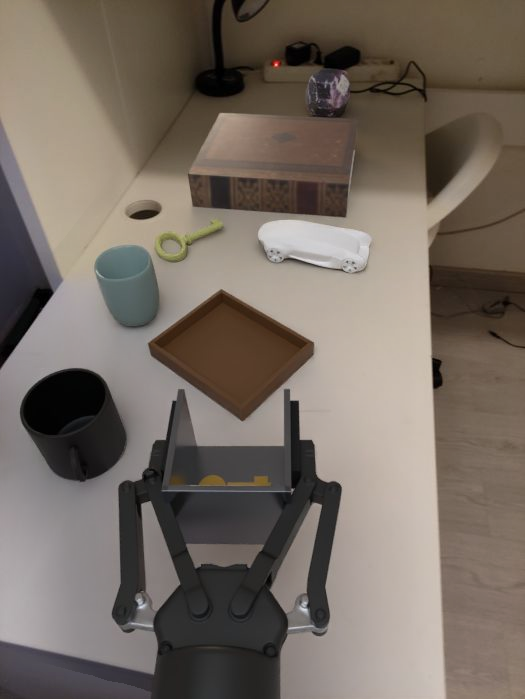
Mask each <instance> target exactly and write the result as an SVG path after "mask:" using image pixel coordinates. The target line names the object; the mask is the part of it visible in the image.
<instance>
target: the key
mask: <svg viewBox="0 0 525 699" xmlns="http://www.w3.org/2000/svg"><path fill="white" fill-rule="evenodd" d="M209 221H210V224H209V225H207V226H205V227H203V228H201V229H198V230H197V231H194V232H192V233H190V234H189V233H187V232H186V233H184V236H183V237H182V236H181V235H180V234H178V233H177V232H174V231H164V232H162V233H160V234H158V235H157V236H156V238H155V241H154V250H155V252H156V253H157V255H158V256H159V257H160V258H162V259H163V260H165V261H167V262H171V263H177V262H180V261H182V260H184V259H185V258H186V257H187V255H188V246H187V244H188V245H192V244H193V242H194V241H196V240H198V239H200V238H202V237H206V236H208V235H209V234H211V233H213V232H214V233H215V232H216V231H219V230H221V229H224V223H223V222H222V220H219V219H218V218H217V217H214V218H213V219H210V220H209ZM167 240H174V241H175V242H177V243H178V244H180V246H181V250H180V251H179V252H178V253H175V254H170V253H167V252H165V251H164V250H163V248H162V245H161V244H162V243H163V242H164V241H167Z"/></svg>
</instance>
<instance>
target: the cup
mask: <svg viewBox="0 0 525 699" xmlns="http://www.w3.org/2000/svg"><path fill="white" fill-rule="evenodd" d="M154 265H155V264H154V262H153V258H152V255H151V254H150V252H149V250H147V249H146V248H145V247H143V246H140V245H136V244H122V245H117V246H114V247H111V248H110V247H109V248H108V249H106V250H104V251H102V252H101V253H100V254H99V255H98V256H97V257H96V259H95V261H94V264H93V270H94V275H95V279H96V281H97V285H98V288H99V290H100V293H101V296H102V298H103V301H104V303H105V305H106V308H107V310H108V311H109V314H110V315H111V316H112V318H113V319H114V320H115V321H116V322H117V323H119V324H121V325H122V326H126V327H140V326H143V325H146V324H148V323H150V322H151V321H152V320H153V319H154V318H155V317H156V316H157V314H158V311H159V308H160V290H159V284H158V279H157V274H156V270H155V266H154Z"/></svg>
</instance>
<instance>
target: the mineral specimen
mask: <svg viewBox="0 0 525 699" xmlns="http://www.w3.org/2000/svg"><path fill="white" fill-rule="evenodd" d="M350 97H351V86H350V79H349V73H348V72H347V71H345V70H343V69H338V68H330V67H329V68H327V67H325V68H323V69H321V70H319V71H316V72H315V73H313V74H311V75H310V78H309V81H308V84H307V87H306V91H305V103H306V110H307V112H308V113H309V114H310V115H312V116H315V117H326V118H336V117H337V116H339V115H340V114H343V112H345V110H346V108H347V106H348V104H349V100H350Z"/></svg>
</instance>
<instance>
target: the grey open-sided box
mask: <svg viewBox="0 0 525 699" xmlns="http://www.w3.org/2000/svg"><path fill="white" fill-rule="evenodd" d="M175 401H176V406H175V412H174V418H173V424H172V430H171V436H170V442H169V448H168V454H167V460H166V466H165V472H164V478H163V484H162V490H161V491H162V494H163V497H164V500H165V502H166V503H170V504H171V507H172V509H173V512H174V514H175V517H176V520H177V522H178V525H179V527H180V530H181V533H182V535H183V538H184V540H185V543H186V545H233V546H234V545H236V546H237V545H240V546H241V545H245V546H246V545H247V546H249V545H250V546H251V545H252V546H264V545H265V543H266V541H267V539H268V537H269V535H270V534H271V532H272V530H273V528H274V526H275V524H276V522H277V521H278V519H279V517H280V515H281V513H282V511H283V509H284V508H285V506H286V504H291V495H292V489H291V418H290V401H291V389H290V388H284V389H283V445H198V443H197V439H196V434H195V429H194V425H193V420H192V417H191V413H190V408H189V403H188V399H187V395H186V390H185V388H178V389H177V394H176V400H175ZM210 475H216V476H219V477H221V478H222V479H223V480H224V482H225V484H226V485H199V483H200V482H201V480H202V479H204V478H205V477H207V476H210ZM254 477H268V483H272V486H262V485H227V483H254Z"/></svg>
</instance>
